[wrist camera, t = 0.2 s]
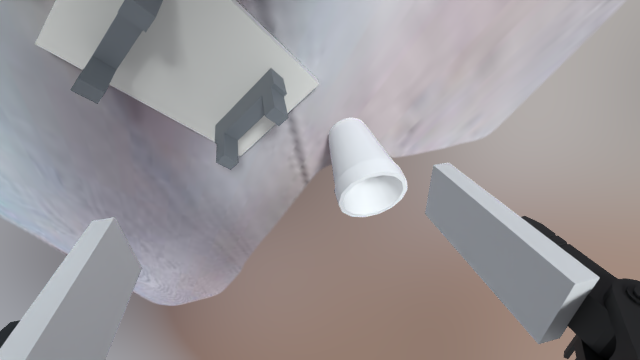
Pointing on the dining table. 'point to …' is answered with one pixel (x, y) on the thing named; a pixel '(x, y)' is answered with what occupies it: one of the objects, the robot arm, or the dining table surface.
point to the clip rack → (182, 64)
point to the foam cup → (363, 170)
